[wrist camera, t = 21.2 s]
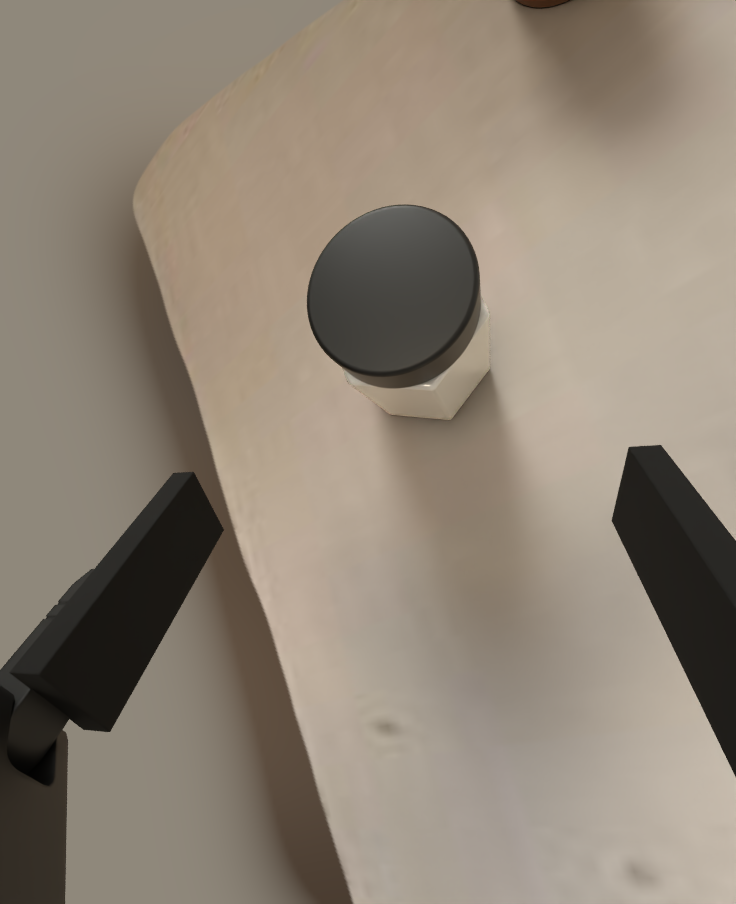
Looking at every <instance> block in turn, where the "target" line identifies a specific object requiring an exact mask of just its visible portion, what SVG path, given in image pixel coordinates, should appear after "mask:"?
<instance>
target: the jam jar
mask: <svg viewBox="0 0 736 904" xmlns="http://www.w3.org/2000/svg"><path fill="white" fill-rule="evenodd" d="M516 1H517V2H519V3H521V4H523V5H526V6H529V7H536V8H543V7H551V6H555V5H559V4H562V3H564V2H567V1H569V0H516Z"/></svg>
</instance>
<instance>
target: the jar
mask: <svg viewBox="0 0 736 904" xmlns="http://www.w3.org/2000/svg"><path fill="white" fill-rule="evenodd" d="M307 312H308V318H309V322H310V326H311V329H312V331H313V334H314V336H315V338H316V340H317V342H318V343H319V345H320V346H321V348H322V349H323V350H324V352H325V353H326V354H327V355H328V356H329V357H330V358H331V359H332V360H333V361H335V362H336V363H337V364H338V365H340V366H341V367H342V369H343V371H344V374H345V377H346V379H347V382H348V383H349V384H350V385H351V386H352V387H354V388H355V389H356V390H358V391H359V392H360V393H362V394H363V395H364V396H366V397H367V398H368V399H370V400H371V401H372V402H374V403H375V404H376V405H378V406H379V407H381V408H382V409H383V410H385V411H386V412H387V413H389V414H390V415H399V416H410V417H422V418H433V419H444V420H451V419H452V418H453V417H454V415H455V414H456V413H457V411H458V410H459V409H460V407H461V406H462V405H463V403H464V402H465V401H466V399H467V398H468V397H469V396H470V394H471V393H472V392H473V390H474V389H475V388H476V386H477V385H478V384H479V382H480V381H481V380H482V378H483V377H484V376H485V374H486V373H487V372H488V371H489V369H490V312H489V310H488V308H487V306H486V304H485V302H484V300H483V298H482V296H481V293H480V274H479V266H478V261H477V257H476V254H475V251H474V249H473V247H472V245H471V243H470V241H469V239H468V238H467V236H466V235H465V233H464V232H463V231H462V230H461V228H460V227H459V226H458V225H457V224H456V223H454V222H453V221H452V220H451V219H449V218H448V217H447V216H445V215H443V214H441V213H439V212H437V211H435V210H432V209H429V208H426V207H422V206H416V205H393V206H387V207H382V208H379V209H376V210H373V211H371V212H368V213H366V214H364V215H362V216H360V217H358V218H356V219H355V220H353V221H352V222H350V223H349V224H348V225H346V226H345V227H344V228H343V229H341V230H340V231H339V232H338V233H337V234H336V235H335V236H334V237H333V238H332V239H331V241H330V242H329V243H328V244H327V246H326V247H325V248H324V250H323V251H322V253H321V255H320V256H319V258H318V260H317V262H316V264H315V267H314V269H313V272H312V274H311V278H310V281H309V286H308V293H307Z"/></svg>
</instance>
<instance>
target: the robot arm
mask: <svg viewBox="0 0 736 904" xmlns="http://www.w3.org/2000/svg"><path fill="white" fill-rule="evenodd" d="M612 522H613V524H614V526H615V528H616V530H617V533H618V535H619V537H620V539H621V541H622V543H623V545H624V547H625V549H626V551H627V553H628V555H629V557H630V559H631V562H632V564H633V566H634V568H635V570H636V572H637V574H638V576H639V578H640V580H641V582H642V584H643V586H644V588H645V590H646V593H647V595H648V597H649V599H650V601H651V603H652V605H653V607H654V609H655V611H656V613H657V615H658V617H659V619H660V621H661V624H662V626H663V628H664V630H665V632H666V634H667V636H668V638H669V640H670V642H671V644H672V646H673V648H674V650H675V652H676V655H677V657H678V659H679V661H680V663H681V665H682V667H683V669H684V671H685V673H686V675H687V677H688V679H689V681H690V683H691V686H692V688H693V690H694V692H695V694H696V696H697V698H698V700H699V702H700V704H701V706H702V708H703V710H704V712H705V714H706V717H707V719H708V721H709V723H710V725H711V727H712V729H713V731H714V733H715V735H716V737H717V739H718V741H719V743H720V745H721V748H722V750H723V752H724V754H725V756H726V758H727V760H728V762H729V764H730V766H731V768H732V770H733V772H734V774H735V776H736V541H735V539H734V538H733V537H732V536H731V534H730V533H729V532H728V530H727V529H726V528H725V527H724V525H723V524H722V523H721V521H720V520H719V519H718V518H717V516H716V515H715V514H714V513H713V511H712V510H711V509H710V507H709V506H708V505H707V504H706V502H705V501H704V500H703V498H702V497H701V496H700V495H699V493H698V492H697V491H696V489H695V488H694V487H693V486H692V484H691V483H690V482H689V480H688V479H687V478H686V477H685V475H684V474H683V473H682V471H681V470H680V469H679V468H678V466H677V465H676V464H675V463H674V461H673V460H672V459H671V457H670V456H669V455H668V454H667V452H666V451H665V450H664V448H663V447H662V446H661V445H655V446H638V447H629V449H628V453H627V457H626V461H625V466H624V470H623V474H622V479H621V483H620V487H619V492H618V496H617V500H616V504H615V509H614V513H613V517H612ZM223 531H224V529H223V527H222V525H221V524H220V521H219V520H218V518H217V516H216V514H215V512H214V510H213V508H212V506H211V504H210V503H209V500H208V498H207V497H206V495H205V493H204V491H203V489H202V487H201V485H200V483H199V481H198V479H197V477H196V475H195V473H194V472H183V473H173V474H172V476H171V477H170V478H169V479H168V480H167V482H166V483H165V484H164V485H163V487H162V488H161V489H160V490H159V491H158V492H157V494H156V495H155V496H154V497H153V499H152V500H151V501H150V502H149V504H148V505H147V506H146V507H145V508H144V509H143V511H142V512H141V513H140V514H139V516H138V517H137V518H136V519H135V521H134V522H133V523H132V524H131V525H130V526H129V528H128V529H127V530H126V531H125V533H124V534H123V535H122V536H121V537H120V539H119V540H118V541H117V542H116V544H115V545H114V546H113V547H112V548H111V550H110V551H109V552H108V553H107V554H106V556H105V557H104V558H103V559H102V561H101V562H100V563H99V564H98V566H96V568H95V569H91V570H90V571H89V572H87V573H86V574H85V575H84V576H83V577H81V578H80V579H79V580H78V581H76V582H75V583H74V584H73V585H72V586H71V587H70V588H69V589H68V591H67V592H66V593H65V594H64V595H63V596H62V598H61V599H60V600H59V601H58V602H59V603H58V605H55V606H54V607H53V608H52V609H51V611H50V612H49V613H48V614H47V615H46V616H47V618H46V619H43V620H42V621H41V622H40V624H39V625H38V626H37V627H36V628H35V630H34V631H33V632H32V633H31V634H30V635H29V637H28V638H27V639H26V640H25V641H24V643H23V644H22V645H21V646H20V647H19V649H18V650H17V651H16V652H15V653H14V654H13V656H12V657H11V658H10V659H9V660H8V662H7V663H6V664H5V665H4V666H3V668H2V669H1V670H0V904H65V874H66V817H67V762H68V760H67V759H68V739H67V735H66V732H64V731H63V730H62V729H63V728H64V726H65V725H66V723H67V721H68V720H69V719H70V720H72V721H73V722H74V723H75V724H77V725H78V726H79V727H81V728H82V729H83V730H94V731H104V732H110V731H111V729H112V727H113V726H114V724H115V722H116V720H117V719H118V717H119V715H120V713H121V711H122V710H123V708H124V706H125V704H126V703H127V701H128V699H129V697H130V695H131V694H132V692H133V690H134V688H135V686H136V685H137V683H138V681H139V680H140V677H141V676H142V674H143V672H144V670H145V669H146V667H147V665H148V664H149V662H150V660H151V658H152V656H153V655H154V653H155V651H156V649H157V647H158V646H159V644H160V642H161V641H162V639H163V637H164V635H165V633H166V631H167V630H168V628H169V626H170V625H171V623H172V621H173V619H174V617H175V616H176V614H177V612H178V610H179V609H180V607H181V605H182V603H183V602H184V600H185V598H186V596H187V594H188V592H189V591H190V589H191V587H192V585H193V584H194V582H195V580H196V578H197V577H198V575H199V573H200V571H201V569H202V568H203V566H204V564H205V563H206V561H207V559H208V557H209V555H210V554H211V552H212V550H213V548H214V547H215V545H216V543H217V541H218V539H219V538H220V536H221V534H222V532H223Z"/></svg>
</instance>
